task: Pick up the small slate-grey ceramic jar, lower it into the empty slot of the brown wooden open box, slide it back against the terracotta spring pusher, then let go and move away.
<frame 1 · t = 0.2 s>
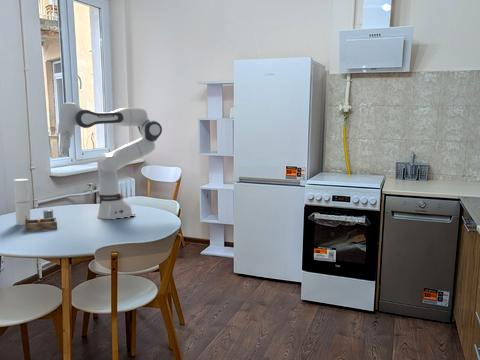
hand: (64, 154, 234), 38 cm above the table, tool pointing down, fingers open, 8 cm apart
cylindrical container: (23, 223, 229), on the table
pusher: (39, 222, 219), point 3 cm above the table, slide at 0.0 cm
jar: (48, 221, 235), on the table
brown wooden open box: (41, 228, 220), on the table
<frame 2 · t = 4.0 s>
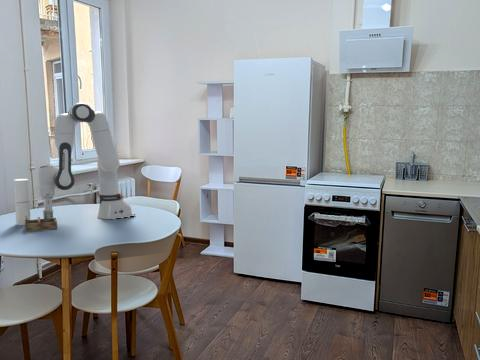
hand: (48, 216, 235), 3 cm above the table, tool pointing down, fingers closed on jar, 5 cm apart
jar: (48, 221, 235), on the table, touching gripper
everything else where it was.
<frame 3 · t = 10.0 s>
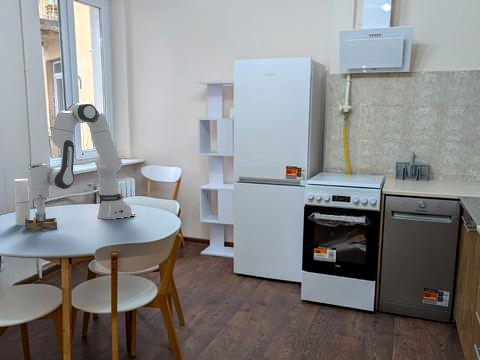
hand: (41, 219, 219), 5 cm above the table, tool pointing down, fingers closed on jar, 5 cm apart
pusher: (34, 223, 218), point 3 cm above the table, slide at 2.1 cm
jar: (41, 224, 220), point 2 cm above the table, touching gripper
everything else where it was.
when the fingers open (5 cm above the table, at t = 10.9 s): jar drops 2 cm, resting on brown wooden open box.
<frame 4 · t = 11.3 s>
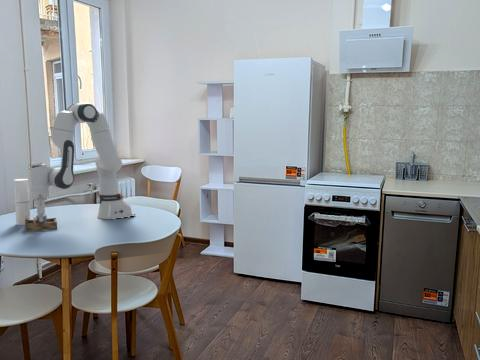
hand: (41, 219, 219), 5 cm above the table, tool pointing down, fingers open, 8 cm apart
jar: (42, 227, 220), point 1 cm above the table, touching brown wooden open box
everything else where it was.
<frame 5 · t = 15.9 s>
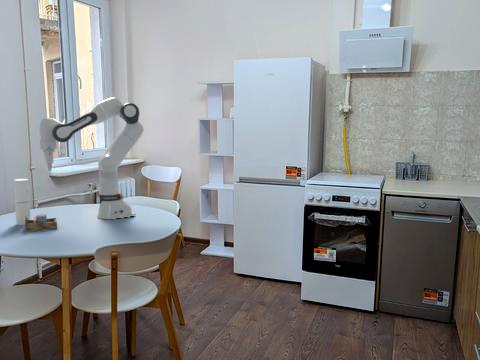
hand: (49, 169, 239), 29 cm above the table, tool pointing down, fingers open, 8 cm apart
nothing on the table moved.
at the end: jar 1.5 cm from the target spot on the brown wooden open box, point 0.7 cm above the brown wooden open box's base; jar tilted 1°; the gripper is holding nothing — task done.
